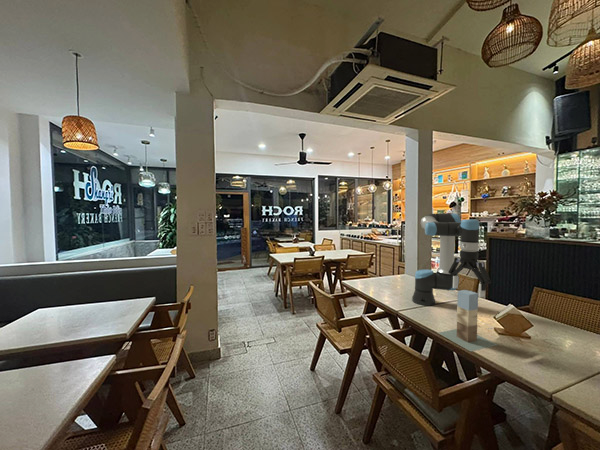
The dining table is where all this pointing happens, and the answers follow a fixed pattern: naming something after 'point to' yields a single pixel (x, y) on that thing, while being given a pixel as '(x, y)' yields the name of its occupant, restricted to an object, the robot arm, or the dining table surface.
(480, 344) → the build plate
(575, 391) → the dining table surface
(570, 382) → the dining table surface
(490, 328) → the trading card
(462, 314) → the beech block
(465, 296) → the blue block
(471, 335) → the walnut block
